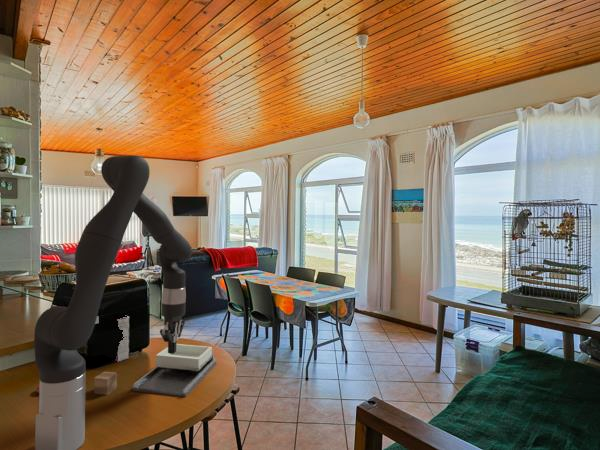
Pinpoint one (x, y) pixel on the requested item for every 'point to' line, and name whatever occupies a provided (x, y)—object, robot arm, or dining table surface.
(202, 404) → the dining table surface
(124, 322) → the candy bar box
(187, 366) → the white box on tray
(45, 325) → the robot arm
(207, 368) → the dark rimmed tray
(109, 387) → the light brown block
